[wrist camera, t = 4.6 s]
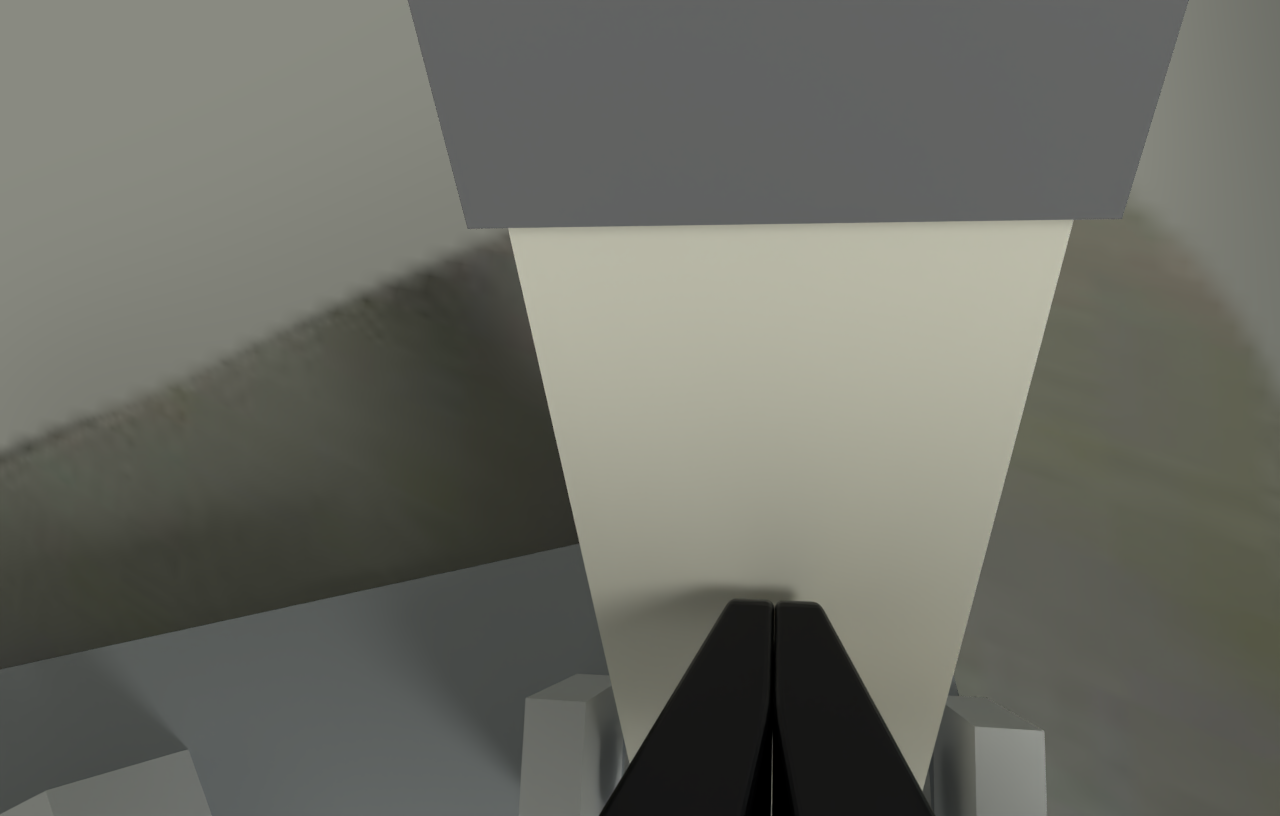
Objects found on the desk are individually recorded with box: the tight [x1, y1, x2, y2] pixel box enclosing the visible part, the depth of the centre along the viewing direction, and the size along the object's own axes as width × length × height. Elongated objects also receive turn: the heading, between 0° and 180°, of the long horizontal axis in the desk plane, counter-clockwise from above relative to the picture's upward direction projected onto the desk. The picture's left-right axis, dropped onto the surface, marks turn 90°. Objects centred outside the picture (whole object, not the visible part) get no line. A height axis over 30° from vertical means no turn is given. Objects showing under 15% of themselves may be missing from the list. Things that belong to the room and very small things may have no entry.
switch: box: [408, 0, 1189, 816], centre depth 9 cm, size 2×4×12 cm
